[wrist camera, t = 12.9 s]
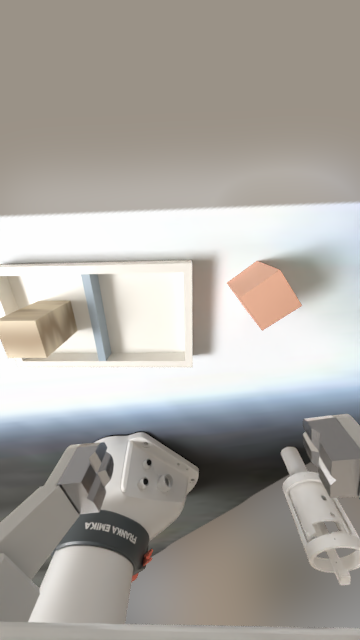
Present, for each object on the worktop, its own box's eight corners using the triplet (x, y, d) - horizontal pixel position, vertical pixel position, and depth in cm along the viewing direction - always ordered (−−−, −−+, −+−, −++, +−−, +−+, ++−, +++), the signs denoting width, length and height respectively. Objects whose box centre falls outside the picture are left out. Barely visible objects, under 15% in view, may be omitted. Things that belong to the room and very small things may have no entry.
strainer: (272, 467, 40) (316, 588, 27) (267, 442, 38) (312, 562, 24) (310, 461, 39) (376, 584, 26) (307, 436, 37) (378, 557, 23)
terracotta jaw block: (257, 260, 26) (280, 269, 19) (274, 288, 27) (302, 305, 21) (226, 282, 27) (238, 298, 21) (245, 308, 28) (262, 330, 22)
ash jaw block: (77, 330, 30) (46, 357, 23) (47, 330, 30) (8, 357, 23) (70, 300, 28) (34, 320, 21) (38, 301, 28) (-7, 321, 22)
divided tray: (191, 260, 26) (192, 263, 23) (192, 355, 31) (192, 367, 29) (0, 264, 27) (-21, 267, 24) (32, 355, 32) (18, 367, 30)
